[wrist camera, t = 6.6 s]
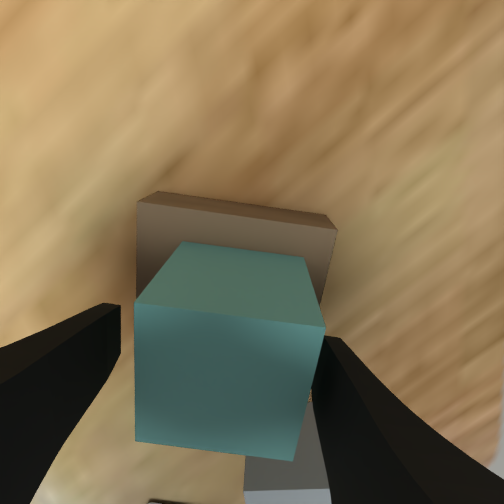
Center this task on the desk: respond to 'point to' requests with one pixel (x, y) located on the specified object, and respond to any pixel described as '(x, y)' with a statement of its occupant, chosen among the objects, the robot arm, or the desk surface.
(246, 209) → the walnut base block
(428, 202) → the desk surface
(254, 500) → the grey cube
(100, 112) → the desk surface
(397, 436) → the robot arm
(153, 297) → the teal cube
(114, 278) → the desk surface
